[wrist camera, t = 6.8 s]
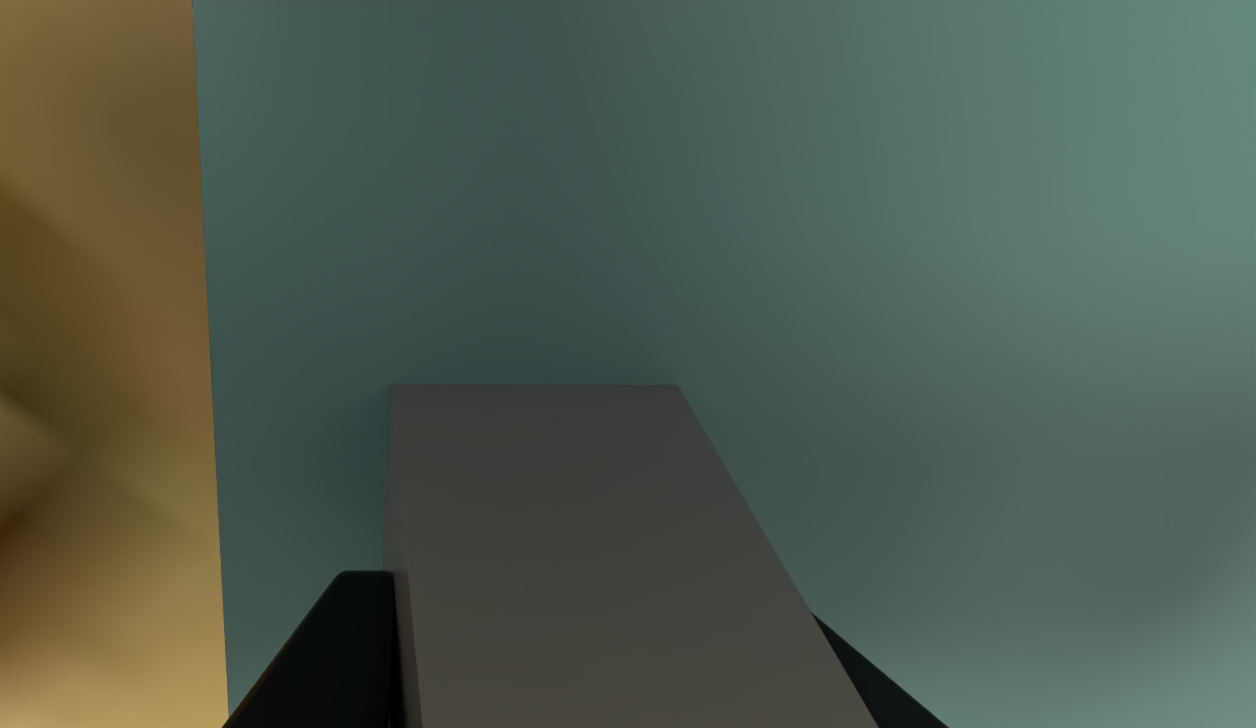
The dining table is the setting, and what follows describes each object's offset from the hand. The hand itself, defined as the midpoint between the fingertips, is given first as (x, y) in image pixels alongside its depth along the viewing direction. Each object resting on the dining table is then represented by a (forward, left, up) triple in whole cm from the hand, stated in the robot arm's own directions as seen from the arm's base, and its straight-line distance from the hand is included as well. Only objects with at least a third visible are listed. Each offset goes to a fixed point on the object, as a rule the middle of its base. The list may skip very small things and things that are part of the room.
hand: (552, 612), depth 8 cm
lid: (-5, 0, -3) cm, 6 cm away
